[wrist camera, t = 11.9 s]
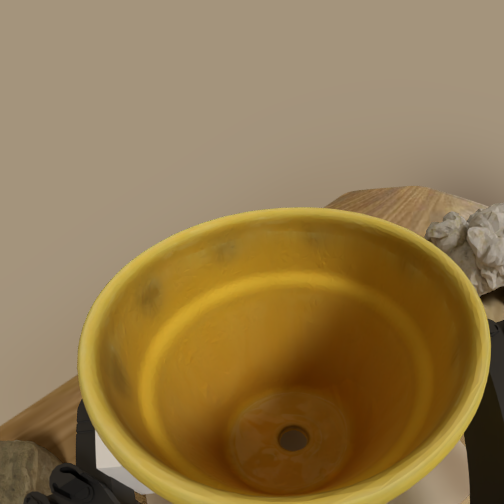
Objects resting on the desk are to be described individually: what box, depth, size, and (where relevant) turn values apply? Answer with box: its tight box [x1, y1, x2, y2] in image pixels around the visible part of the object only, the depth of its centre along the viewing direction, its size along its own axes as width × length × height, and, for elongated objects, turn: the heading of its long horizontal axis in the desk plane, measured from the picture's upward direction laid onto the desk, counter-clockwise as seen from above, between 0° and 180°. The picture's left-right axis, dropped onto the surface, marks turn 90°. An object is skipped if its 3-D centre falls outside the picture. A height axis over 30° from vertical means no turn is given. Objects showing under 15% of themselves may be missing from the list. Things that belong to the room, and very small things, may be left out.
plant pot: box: [77, 207, 491, 504], centre depth 9 cm, size 10×10×10 cm
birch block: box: [146, 430, 470, 504], centre depth 13 cm, size 16×16×4 cm
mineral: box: [425, 203, 504, 297], centre depth 23 cm, size 12×17×10 cm
